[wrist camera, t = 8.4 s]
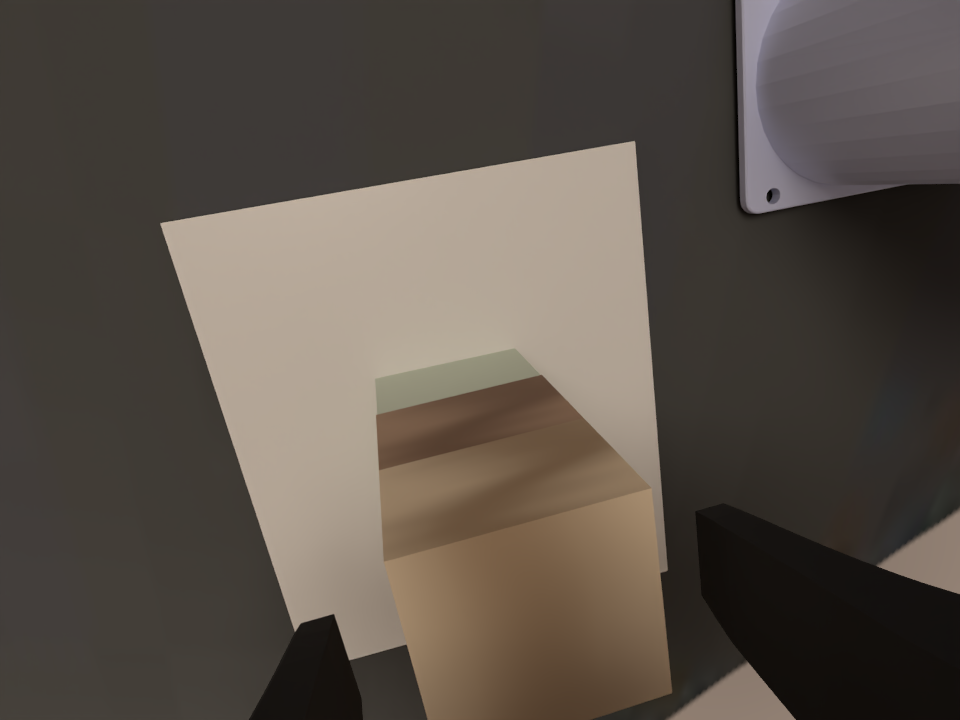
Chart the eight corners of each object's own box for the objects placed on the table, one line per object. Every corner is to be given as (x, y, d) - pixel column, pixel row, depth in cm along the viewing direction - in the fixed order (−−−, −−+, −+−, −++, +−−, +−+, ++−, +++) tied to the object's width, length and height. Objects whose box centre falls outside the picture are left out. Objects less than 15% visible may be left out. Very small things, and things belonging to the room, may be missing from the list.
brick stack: (542, 374, 16) (651, 488, 10) (564, 517, 17) (672, 693, 11) (376, 414, 15) (383, 562, 9) (413, 559, 17) (441, 768, 11)
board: (621, 143, 19) (690, 130, 15) (655, 555, 24) (714, 629, 20) (171, 221, 17) (112, 231, 13) (310, 651, 22) (298, 753, 18)
